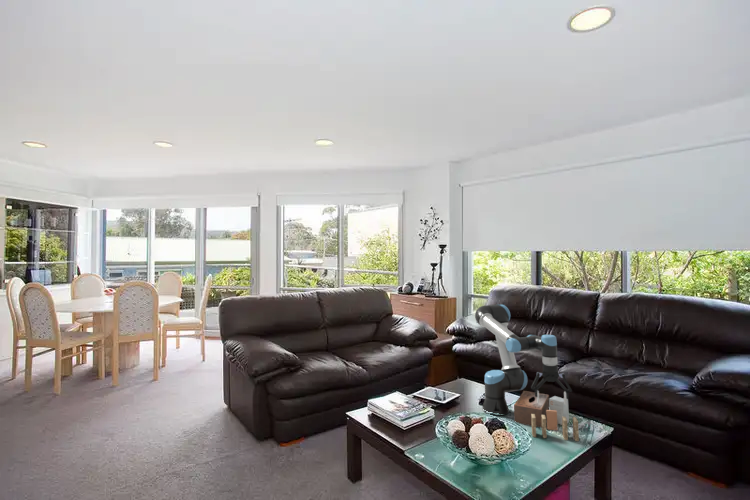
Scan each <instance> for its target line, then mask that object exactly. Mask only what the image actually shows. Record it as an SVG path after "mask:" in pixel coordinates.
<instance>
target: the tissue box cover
mask: <svg viewBox="0 0 750 500" xmlns="http://www.w3.org/2000/svg"><path fill="white" fill-rule="evenodd" d="M549 398H550V395H549V394H547V393H546V394H545V393H540V392H539V404H538V402H537V397H535V391H534V392H533V391H527V390H523V391H522V393H521V394H520V396H519V397H518V398H517V400H516V401H515V403H514V404H513V413H514V415H513V416H514V417H513V420H514V422H515V421H516V422H519V423H518V424H522V425H527V426H530V427H532V419H531V414H535V418H536V428H541V429H542V417H541V415H545V417H546V418H547V413H546V410H550V408H549ZM516 422H515V423H516Z"/></svg>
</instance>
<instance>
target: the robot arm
mask: <svg viewBox="0 0 750 500" xmlns="http://www.w3.org/2000/svg"><path fill="white" fill-rule="evenodd" d="M474 317H475V321H476V323H478V325H479V326H480V327H482V328H486V329H487V330H488V331H489V332H491V333H492V334H493V335H495V341H496V344H497V349H498V352H499V357H500V361H501V365H502V367H501V369H491V370H488V371H486V372H485V374H484V400H483V403H482V410H483V409H484V410H486V411H488V412H493V413H499V414H506V415H507V414H509V412H510V411H509V409H510V408H509V406H508V403H507V401H506V393H511V392H518V391H522V390H524V389H525V388H526V387H527V385H528V376H527V373H526V372H525V371H524V370H522V368H521V366H520V365H518V363H517V360H516V359H517V358H516V356H515V353H519V352H527V351H529V352H530V351H540V352H541V353H542V354H541V358H542V359H541V360H542V372H539V371H537V372H536V376H535V377H534V380H533V382H532V384H531V385H530V389H531V391H534V393H535V397H537V402H538V404H539V393H540V390H539V389H540V388H541V387H542V386H543V385H544V384H545V383H546V382H548V383H549V382H551V383H554V382H556V383H557V384H558V385H559V386H560V387H561V388H562V390H563V398H564V404H565V405H567V399H568V400H569V398H570V397H569V393H572V392H573V389H572V388H571V386H570V385H569V381H568V380H567V379H566V375H565V373H564V372H561V373H559V366H558V364H559V363H558V343H557V342H558V341H557V336H555V335H553V334H543V335H541V336H539V335H536V334H528V335H527V336H523V337H522V336H521V337H519V336H518V335H517V334H515V333H514V332H512V331H511V330H510V329H508V326H509V324H510V323H509V322H510V320H511V317H512V316H511V312H510V309H509V308H508V307H507V306H506V305H505V304H490V305H489V304H488V305H481V306H479V307H478V308H477V309H476V311H475V314H474ZM541 377H543V378H542V379H541V380H540V378H541ZM559 377H560V378H561V379H562V380H563V382H564V383H565V385H566V386H565V385H564V384H563V383H562V382H561V381H560V380H559ZM539 380H540V381H539ZM538 381H539V383H538ZM566 387H567V388H566Z"/></svg>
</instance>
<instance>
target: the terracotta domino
mask: <svg viewBox="0 0 750 500" xmlns="http://www.w3.org/2000/svg"><path fill="white" fill-rule="evenodd" d="M546 413H547V417H546V430H549V431H558V424H557V411H556V410H550V409H549V410H546Z"/></svg>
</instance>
